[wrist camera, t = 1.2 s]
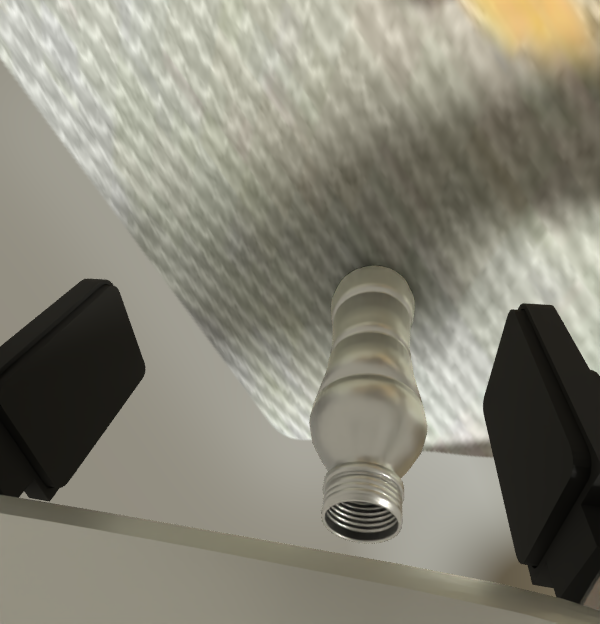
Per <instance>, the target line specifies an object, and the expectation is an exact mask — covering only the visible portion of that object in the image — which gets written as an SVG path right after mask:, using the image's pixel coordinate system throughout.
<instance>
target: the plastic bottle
mask: <svg viewBox="0 0 600 624" xmlns="http://www.w3.org/2000/svg"><path fill="white" fill-rule="evenodd" d="M414 311H415V301H414V296H413V294H412V292H411V290H410V287H409V285H408V283H407V281H406V280H405V279H404V278H403V277H402V276H401V275H400V274H399V273H398V272H396V271H394V270H392V269H390V268H387V267H383V266H366V267H361V268H359V269H356V270H354V271H352V272H351V273H349V274H348V275H346V276H345V277H344V278H343V279H342V281H341V282H340V284H339V285H338V287H337V289H336V291H335V293H334V295H333V298H332V302H331V319H332V326H333V336H332V349H331V354H330V357H329V362H328V366H327V370H326V373H325V376H324V378H323V381H322V384H321V386H320V389H319V391H318V394H317V397H316V399H315V402H314V404H313V408H312V411H311V415H310V422H309V424H310V430H311V436H312V443H313V445H314V447H315V449H316V451H317V453H318V455H319V457H320V459H321V461H322V463H323V464H324V466H325V467H326V469H327V470H328V472H327V474H326V476H325V478H324V484H323V494H324V498H323V505H322V512H321V514H322V522H323V524H324V525H325V527H326V528H327V529H328V530H329V531H330V532H331V533H333V534H335V535H336V536H338V537H341V538H343V539H345V540H349V541H352V542H358V543H381V542H385V541H388V540H390V539H392V538H394V537H395V536H397V535H398V534H399V532H400V530H401V528H402V503H403V501H404V485H403V482H402V481H401V478H402V477H403V476H404V475H405V474H406V473H407V472H408V470H409V469H410V468H411V467H412V465H413V464H414V462H415V461H416V460H417V458H418V457H419V455H420V454H421V452H422V449H423V446H424V443H425V439H426V435H427V422H426V417H425V412H424V407H423V405H422V401H421V397H420V394H419V391H418V387H417V384H416V381H415V377H414V373H413V367H412V361H411V354H410V332H411V326H412V323H413V319H414Z"/></svg>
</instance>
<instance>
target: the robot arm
mask: <svg viewBox="0 0 600 624" xmlns="http://www.w3.org/2000/svg"><path fill="white" fill-rule="evenodd" d="M144 374H145V363H144V360H143V358H142V355H141V352H140V349H139V346H138V344H137V341H136V338H135V335H134V332H133V329H132V326H131V323H130V321H129V318H128V315H127V312H126V309H125V306H124V304H123V301H122V298H121V295H120V292H119V290H118V288H117V287H115V286H113V284H112V283H111V282H110V281H108V280H102V279H84V280H82V281H80V282H79V283H78V284H77V285H76V286H74V287H73V288H72V289H71V290H69V291H68V292H67V293H66V294H64V295H63V296H62V297H61V298H59V300H57V301H56V302H55V303H54V304H52V305H51V306H50V307H49V308H47V309H46V310H45V311H43V312H42V313H41V314H40V315H39V316H37V317H36V318H35V319H34V320H32V321H31V322H30V323H29V324H27V325H26V326H25V327H24V328H23V329H21V330H20V331H19V332H18V333H16V334H15V335H14V336H13V337H11V338H10V339H9V340H8V341H7V342H5V343H4V344H3V345H2V346H1V347H0V624H600V376H599V375H598V373H597V372H595V371H593V370H590V369H589V367H588V366H587V364H586V362H585V360H584V358H583V357H582V355H581V353H580V351H579V350H578V348H577V346H576V344H575V343H574V341H573V339H572V337H571V336H570V334H569V332H568V330H567V328H566V327H565V325H564V323H563V321H562V320H561V318H560V316H559V314H558V313H557V311H556V309H555V308H554V306H552V305H541V304H524V303H523V304H521V305H520V306H519V308H518V310H510V312H509V313H508V316H507V320H506V323H505V327H504V330H503V334H502V337H501V340H500V344H499V347H498V351H497V354H496V358H495V361H494V365H493V368H492V372H491V375H490V379H489V382H488V385H487V389H486V392H485V396H484V401H483V412H484V417H485V421H486V426H487V430H488V435H489V439H490V443H491V448H492V452H493V456H494V460H495V465H496V470H497V473H498V478H499V483H500V487H501V491H502V496H503V500H504V504H505V509H506V513H507V518H508V522H509V527H510V531H511V535H512V539H513V544H514V548H515V552H516V556H517V559H518V561H519V562H520V563H521V564H525V565H528V568H529V572H530V576H531V580H532V584H533V585H538V586H544V587H550V588H554V591H555V594H556V597H553V596H549V595H545V594H541V593H537V592H532V591H529V590H524V589H520V588H516V587H512V586H508V585H504V584H499V583H494V582H488V581H484V580H478V579H473V578H468V577H463V576H458V575H453V574H448V573H443V572H438V571H432V570H427V569H422V568H417V567H412V566H407V565H402V564H397V563H391V562H385V561H380V560H374V559H369V558H363V557H357V556H351V555H346V554H340V553H335V552H329V551H323V550H318V549H312V548H307V547H301V546H296V545H290V544H284V543H279V542H273V541H267V540H262V539H256V538H250V537H244V536H239V535H233V534H228V533H222V532H216V531H210V530H205V529H199V528H193V527H187V526H182V525H176V524H170V523H164V522H159V521H153V520H147V519H141V518H135V517H129V516H124V515H117V514H112V513H106V512H100V511H94V510H88V509H83V508H77V507H70V506H65V505H59V504H52V503H47V502H41V501H35V500H28V499H23V498H19V497H20V495H21V494H22V493H23V491H24V492H25V493H26V494H27V496H28V497H29V498H33V499H39V500H45V501H50V500H51V499H52V498H53V496H54V495H55V494H56V492H57V491H58V489H59V488H61V487H63V486H65V485H66V484H67V483H68V481H69V480H70V479H71V478H72V476H73V475H74V473H75V472H76V471H77V469H78V468H79V466H80V465H81V464H82V462H83V461H84V459H85V458H86V457H87V455H88V454H89V452H90V451H91V450H92V448H93V447H94V445H95V444H96V443H97V441H98V440H99V438H100V437H101V436H102V434H103V433H104V432H105V430H106V429H107V427H108V426H109V425H110V423H111V422H112V420H113V419H114V417H115V416H116V415H117V413H118V412H119V411H120V409H121V408H122V406H123V405H124V404H125V402H126V401H127V399H128V398H129V397H130V395H131V394H132V392H133V391H134V390H135V388H136V387H137V385H138V384H139V383H140V381H141V380H142V378H143V377H144Z"/></svg>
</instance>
